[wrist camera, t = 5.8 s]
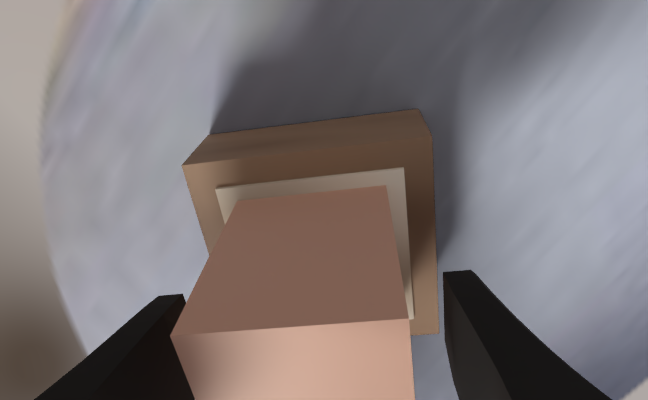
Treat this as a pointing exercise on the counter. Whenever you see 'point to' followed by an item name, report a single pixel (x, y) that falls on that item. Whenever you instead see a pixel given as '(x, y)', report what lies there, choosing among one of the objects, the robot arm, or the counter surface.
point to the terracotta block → (300, 303)
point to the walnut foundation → (332, 183)
